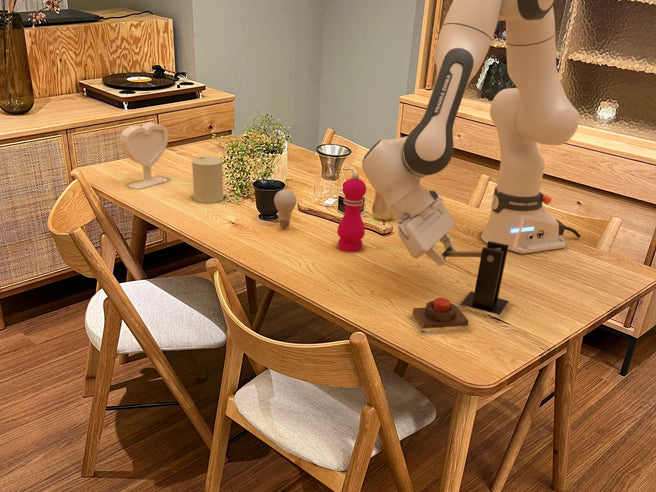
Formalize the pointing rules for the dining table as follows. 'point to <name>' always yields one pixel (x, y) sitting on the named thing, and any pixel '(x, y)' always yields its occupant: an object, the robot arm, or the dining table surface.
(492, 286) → the switch bracket
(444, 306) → the button
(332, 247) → the dining table surface
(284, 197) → the lightbulb
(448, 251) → the switch lever
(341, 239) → the pepper mill
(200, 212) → the dining table surface
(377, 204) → the plastic bottle
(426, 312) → the button box
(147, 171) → the heart sculpture
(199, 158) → the can
